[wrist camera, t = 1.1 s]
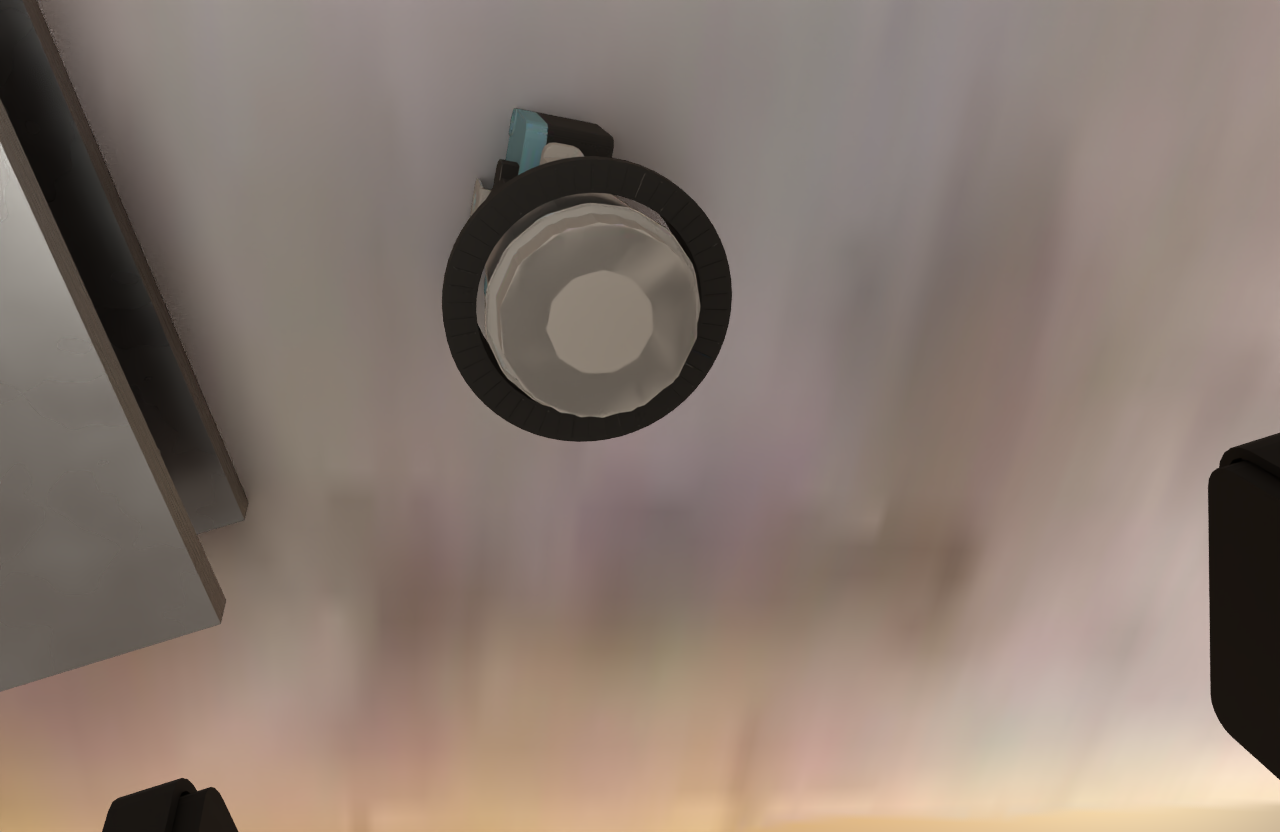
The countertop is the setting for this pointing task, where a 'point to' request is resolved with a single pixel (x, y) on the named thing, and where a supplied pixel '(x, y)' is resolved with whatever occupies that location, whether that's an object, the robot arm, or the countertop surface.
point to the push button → (583, 287)
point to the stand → (90, 400)
